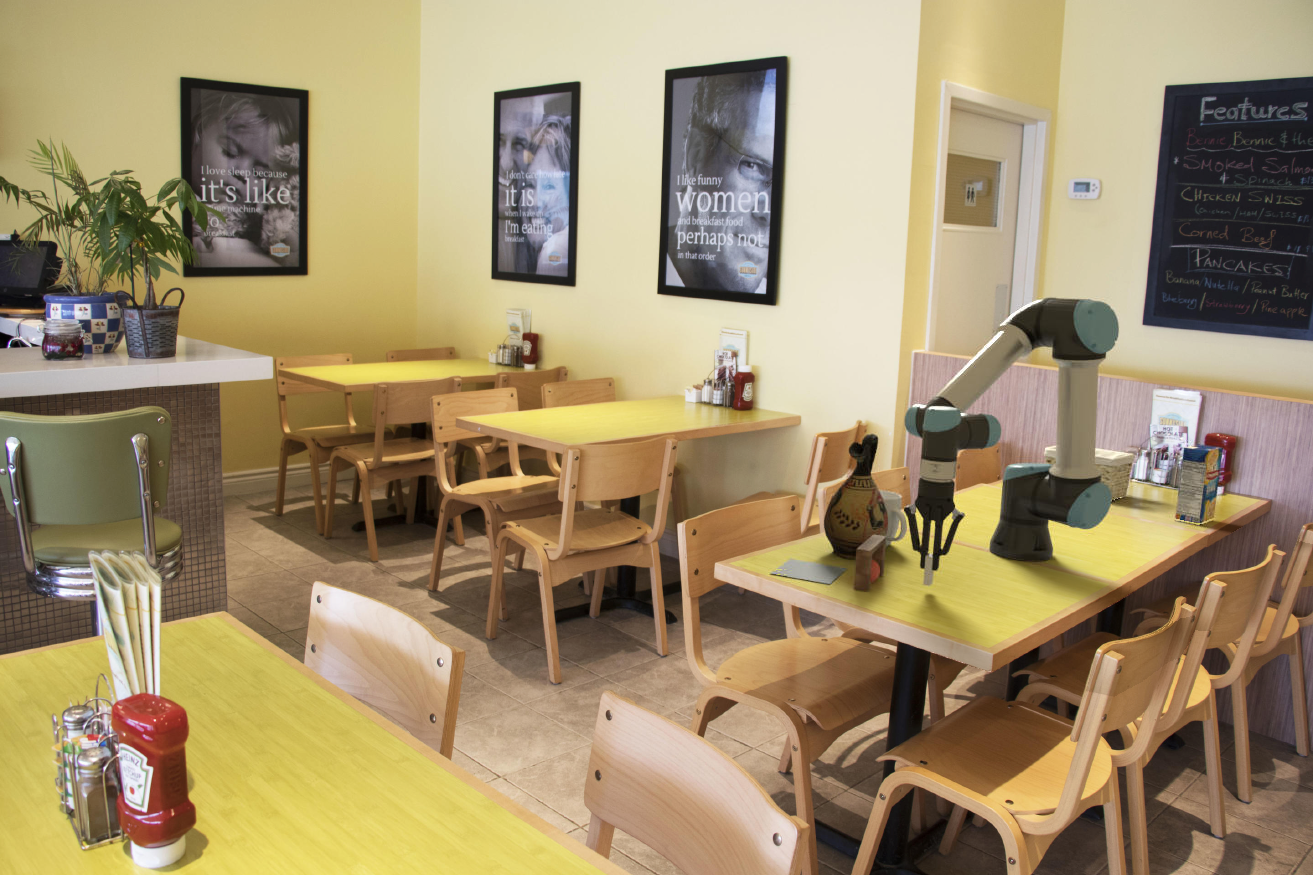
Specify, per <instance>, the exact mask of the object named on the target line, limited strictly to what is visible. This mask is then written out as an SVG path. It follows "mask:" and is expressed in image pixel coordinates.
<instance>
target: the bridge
mask: <svg viewBox="0 0 1313 875" xmlns="http://www.w3.org/2000/svg"><path fill="white" fill-rule="evenodd" d="M886 548H887V546H886V536H881V535H874V534H873V535H872V536H871V537H870V538H869V539H868V540H866V541H865V542H864V543H863V544H862V545H861V546H859V547H858V548H857V551H856V559H855V567H854V580H853V590H856V591H861V592H869V590H870V587H871V583H870V576H871V563H872V559H873V560H875V561H876V562H877V563H878V565H879V567H880V574H879V577H878V578H882V577H883V576H884V574H885V573H884V570H885V569H884V568H885V560H886V559H885V558H886V557H885V556H886Z"/></svg>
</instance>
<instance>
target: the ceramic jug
mask: <svg viewBox="0 0 1313 875" xmlns="http://www.w3.org/2000/svg"><path fill="white" fill-rule="evenodd" d="M878 445H879V437H878V436H877V435H876V434H874V433H871V434H866V435H865V436H864V437H863V438H862V441H861V444H860V442H857V441H854V442H853V443H851V444H850V446H849V448H848V454H849V455H850V457H852V458H853V459H854V460H855V461H856V466H855V467H854V469H853V472H852V473H851V474H850V476H848V477H847V478H846V479H845V481H844V482H843V483H842V485H840V487H839V488H838V489H837V490H836V491H835V493H834V495H833V496H832V498H831V499H830V500H829V503H828V506H827V507H826V508H827V509H826V511H825V514H824V517H823V518H824V519H823V529H824V533H825V536H826V538H827V540H828V541H829V543H830V545H831V548H832V552H831V553H832V554H833V555H835V556H836V555H837V556H836V557H838V556H839V557H838V558H841V557H842V558H841V559H850V560H856V551H857V548H858V547H859V546H861V545H862V544H863V543H864V542H865V541H866V540H868V539H869V538H870V537H871V536H872V535H873V534H874V535H881V536H886V534H887V530H888V513H887V509H886V505H885V502H884V500H883V498H882V496H881V493H880V492H879V490H880V489H879V487H878V486H877V483H876V482H875V480H874V479H873V477H872V470H873V465H874V462H875V459H876V454H877V450H878Z"/></svg>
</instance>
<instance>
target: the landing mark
mask: <svg viewBox="0 0 1313 875" xmlns="http://www.w3.org/2000/svg"><path fill="white" fill-rule="evenodd" d="M783 564H784V565H783ZM783 564H781V565H780V566H778V567H777V568H776V569H782V570H780V571H779V570H776V569H775V570H776V571H774V570H773V571H771V572H770V573H769V575H771V574H781V576H780V577H783V575H784V574H786V575H784V576H787V577H786V578H788V577H791V578H790V579H794V578H795V579H796V580H800V579H803V580H802V581H806V580H809V581H808V582H811V581H813V582H812V583H816V584H817V583H818V584H823V585H829V586H830V585H831V584H832V583H834V581H836V580H837V579H838V578H839V577H840V576H841V575H843V573H845V572H846V571H847V570H848V568H847V567H841V566H834V565H831V564H823V563H817V562H811V561H806V560H805V561H804V560H798V559H793V558H790V559H788V560H787V561H785V562H784V563H783ZM782 565H783V566H782ZM784 569H785V570H784ZM846 569H847V570H846ZM845 570H846V571H845ZM778 571H779V572H778ZM844 571H845V572H844ZM795 579H794V580H795ZM835 579H836V580H835Z"/></svg>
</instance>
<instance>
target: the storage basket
mask: <svg viewBox="0 0 1313 875" xmlns="http://www.w3.org/2000/svg"><path fill="white" fill-rule="evenodd" d="M1043 456H1044V459H1045V462H1044V464H1051V465H1053V466H1054V465H1055V464H1056V445H1052V446H1047V447H1045V448H1044V452H1043ZM1135 460H1136V459H1135V454H1134V453H1131V452H1129V453H1128V452H1123V451H1115V450H1110V449H1104V448H1096V447H1095V466H1096V467H1097V468H1098V469H1099V470H1100V471H1101V483H1104V484H1106V485H1107V486H1108V487H1109V489H1110V490H1111V494H1112V500H1114V499H1117V498H1120V497H1123V498H1126V497H1127V493H1128V489H1129V484H1130V478H1131V472H1132V470H1133V465H1134V464H1133V463H1135ZM1120 499H1121V498H1120ZM1114 501H1115V500H1114Z"/></svg>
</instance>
